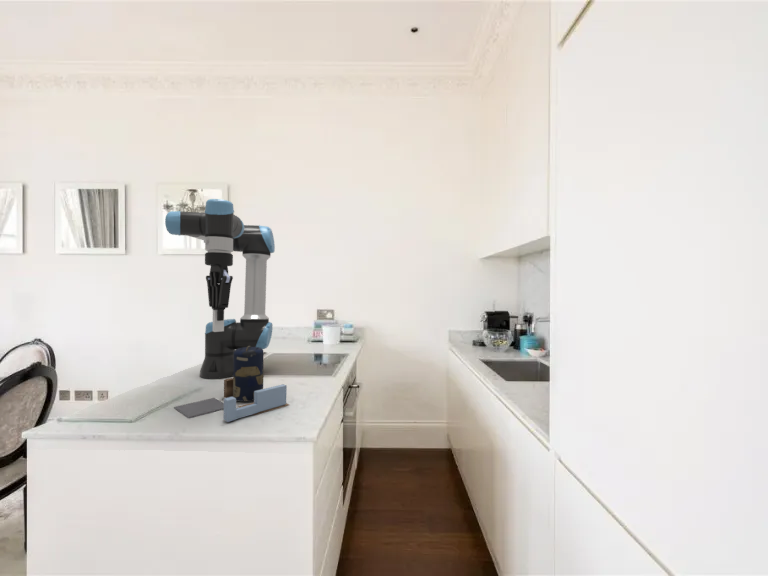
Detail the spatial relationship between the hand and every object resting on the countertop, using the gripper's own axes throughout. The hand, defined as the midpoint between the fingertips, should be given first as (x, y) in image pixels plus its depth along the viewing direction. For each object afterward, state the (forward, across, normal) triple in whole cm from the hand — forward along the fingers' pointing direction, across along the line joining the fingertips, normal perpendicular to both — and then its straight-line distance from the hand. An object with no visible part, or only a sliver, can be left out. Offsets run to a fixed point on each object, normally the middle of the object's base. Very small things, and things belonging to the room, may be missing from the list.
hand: (218, 331), depth 102 cm
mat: (+25, -8, -1) cm, 26 cm away
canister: (+25, -6, +13) cm, 29 cm away
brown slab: (+25, -2, +13) cm, 28 cm away
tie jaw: (+24, +9, +8) cm, 27 cm away
